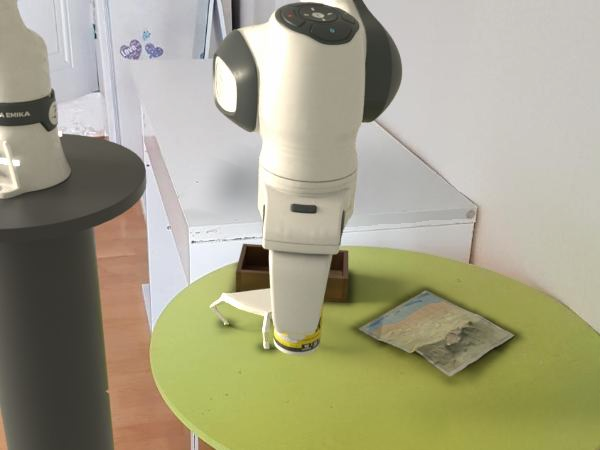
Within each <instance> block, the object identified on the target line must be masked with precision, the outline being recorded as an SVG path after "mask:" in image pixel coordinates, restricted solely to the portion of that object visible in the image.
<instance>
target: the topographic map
mask: <svg viewBox="0 0 600 450" xmlns="http://www.w3.org/2000/svg"><path fill="white" fill-rule="evenodd" d="M358 330H360V331H361V332H362V333H364V334H366V335H367V336H370V337H371V338H372V339H375V340H376V341H379V342H380V341H381V342H383V343H386V344H389V345H391V346H393V347H396V348H398V349H400V350H402V351H404V352H406V353H409V354H411V353H414V352H416V353H418V354H420V355H421V356H422V357H423V358H424V359H425V360H426V361H427V362H428V363H430V364H431V365H433V366H434V367H435V368H436V369H437V370H439V371H440V372H442V374H445V375H446V376H448V377H450V378H452V377H453V376H455V375H456V374H457V373H459V372H461V371H462V370H463V369H465V368H467V366H469V365H470V364H472V363H474V362H476V361H478V360H479V359H480V358H482V357H483V356H485V355H486V354H487V353H488V352H489V351H491V350H493V349H494V348H497V347H498V346H500V345H503V344H504V343H506V342H507V341H509V340H510V339H512V338H513V337H514V336H515V334H513V333H511V332H510V331H508V330H506V329H504V328H502V327H500V326H499V325H496V324H495V323H493V322H492V321H490V320H488V319H486V318H485V317H483V316H481V315H480V314H476V313H475V312H472V311H469V310H467V309H464V308H463V307H460V306H459V305H456V304H454V303H452V302H450V301H448V300H446V299H445V298H442V297H440V296H438V295H436V294H435V293H432V292H431V291H429V290H423V291H422V292H420V293H419V294H416V295H415V296H413V297H412V298H409V299H408V300H406V301H405V302H403V303H401V304H398V305H397V306H396V307H393V308H392V309H390V310H389V311H387V312H385V313H384V314H382V315H380V316H378V317H376V318H375V319H372V320H371V321H370V322H368V323H365V324H364V325H363V326H360V327H358Z"/></svg>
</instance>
